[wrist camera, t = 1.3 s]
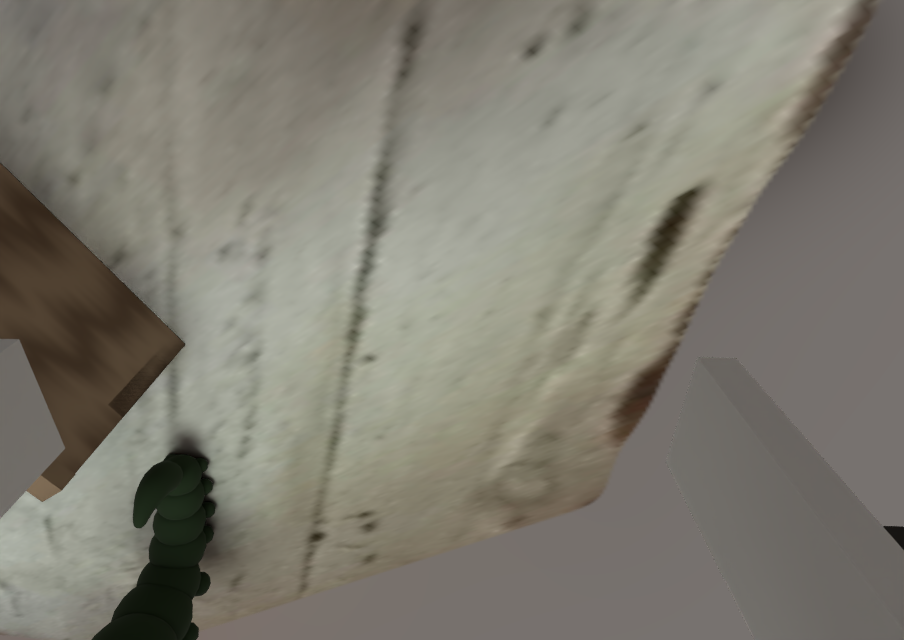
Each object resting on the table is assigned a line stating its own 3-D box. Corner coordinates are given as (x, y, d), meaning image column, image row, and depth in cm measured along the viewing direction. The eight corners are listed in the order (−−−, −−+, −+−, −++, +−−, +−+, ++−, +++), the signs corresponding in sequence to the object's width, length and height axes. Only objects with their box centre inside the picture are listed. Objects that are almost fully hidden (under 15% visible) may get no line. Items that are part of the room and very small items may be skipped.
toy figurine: (149, 562, 54) (-58, 925, 32) (130, 419, 45) (-174, 785, 23) (242, 573, 55) (103, 933, 33) (242, 435, 46) (51, 802, 24)
